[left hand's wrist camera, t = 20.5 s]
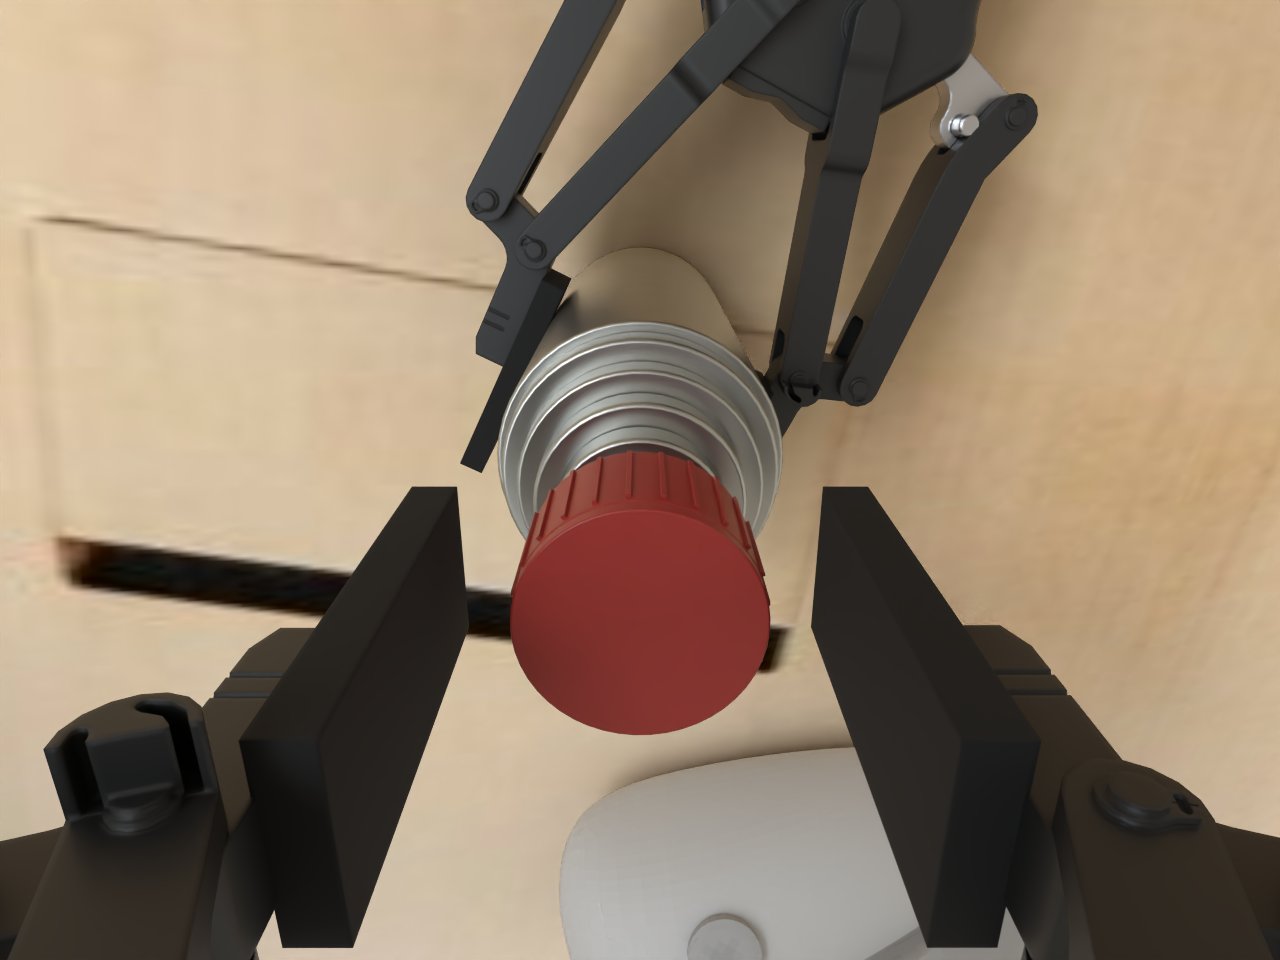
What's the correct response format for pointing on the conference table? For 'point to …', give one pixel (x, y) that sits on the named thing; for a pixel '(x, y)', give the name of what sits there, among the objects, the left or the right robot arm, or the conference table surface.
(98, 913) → the left robot arm
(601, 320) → the bottle
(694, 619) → the cap
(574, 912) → the projector
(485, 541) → the conference table surface
